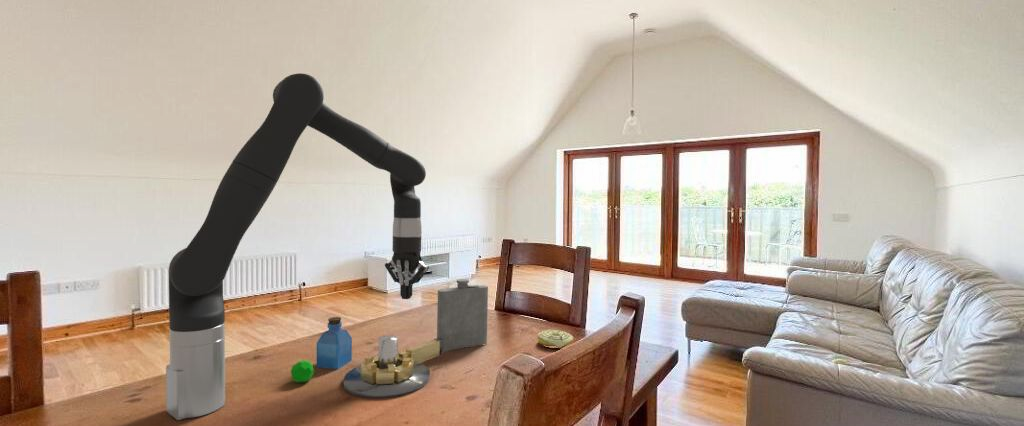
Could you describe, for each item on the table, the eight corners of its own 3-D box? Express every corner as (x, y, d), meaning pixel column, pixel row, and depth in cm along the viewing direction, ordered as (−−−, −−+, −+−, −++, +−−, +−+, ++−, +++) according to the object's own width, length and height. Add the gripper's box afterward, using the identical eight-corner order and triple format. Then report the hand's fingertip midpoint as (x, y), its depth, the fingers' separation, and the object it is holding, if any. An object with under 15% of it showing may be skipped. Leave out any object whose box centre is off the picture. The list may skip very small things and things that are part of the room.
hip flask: (439, 352, 127) (440, 283, 126) (434, 348, 130) (435, 280, 129) (488, 344, 135) (490, 278, 134) (482, 340, 138) (483, 276, 137)
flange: (380, 407, 94) (381, 359, 93) (326, 382, 105) (326, 339, 105) (446, 376, 110) (447, 336, 110) (393, 358, 122) (393, 321, 121)
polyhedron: (307, 375, 109) (307, 356, 109) (317, 381, 106) (317, 361, 106) (286, 381, 105) (287, 361, 105) (296, 387, 102) (296, 367, 102)
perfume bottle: (338, 369, 113) (338, 322, 113) (316, 367, 115) (316, 320, 114) (351, 360, 119) (351, 316, 119) (330, 358, 121) (331, 314, 120)
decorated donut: (563, 353, 128) (563, 341, 128) (531, 346, 134) (531, 334, 134) (578, 344, 137) (578, 331, 137) (547, 337, 143) (547, 325, 143)
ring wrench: (383, 388, 99) (383, 370, 99) (351, 375, 106) (351, 358, 106) (457, 357, 119) (457, 343, 119) (425, 348, 126) (425, 334, 126)
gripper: (377, 234, 118) (377, 299, 119) (420, 236, 113) (420, 304, 114) (394, 232, 125) (393, 293, 126) (435, 234, 120) (434, 298, 121)
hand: (406, 298), depth 120 cm, fingers closed
